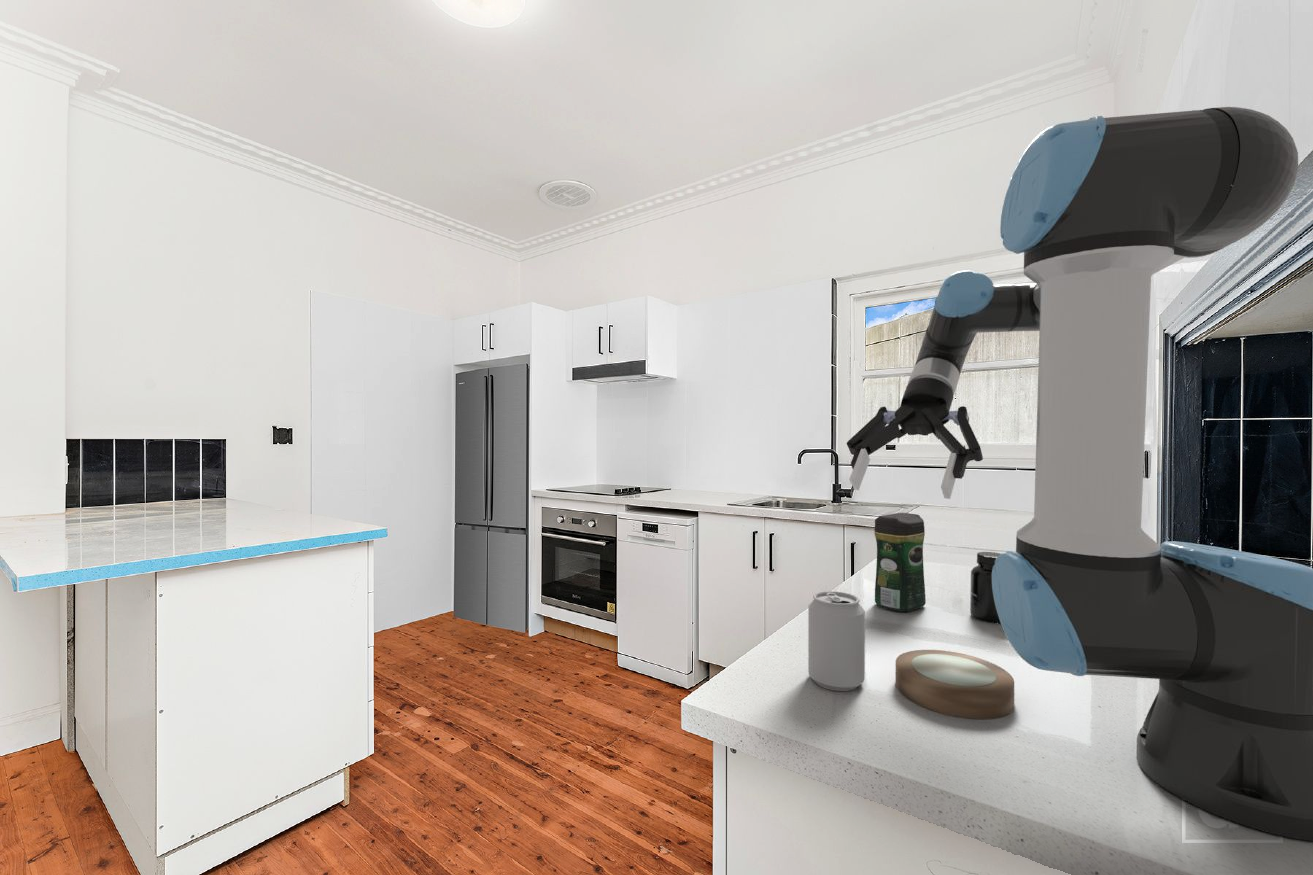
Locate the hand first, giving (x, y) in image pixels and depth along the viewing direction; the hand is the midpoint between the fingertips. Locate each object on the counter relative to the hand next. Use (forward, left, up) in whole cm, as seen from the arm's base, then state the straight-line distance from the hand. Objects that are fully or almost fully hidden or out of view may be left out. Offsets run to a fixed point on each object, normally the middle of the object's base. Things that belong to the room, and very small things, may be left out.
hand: (897, 488), depth 86 cm
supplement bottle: (+16, -27, -26) cm, 41 cm away
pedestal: (-11, -1, -26) cm, 28 cm away
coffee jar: (+25, -14, -26) cm, 39 cm away
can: (-6, +13, -26) cm, 30 cm away
